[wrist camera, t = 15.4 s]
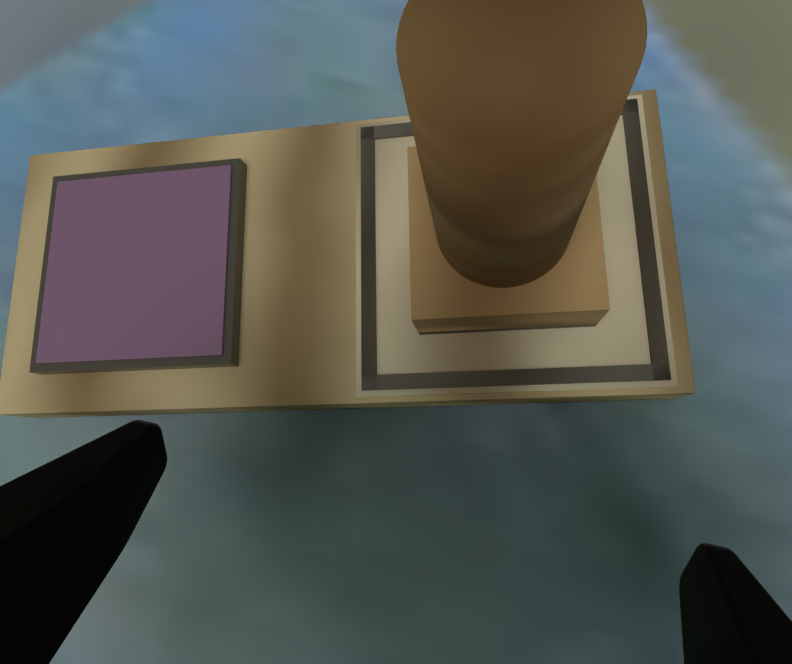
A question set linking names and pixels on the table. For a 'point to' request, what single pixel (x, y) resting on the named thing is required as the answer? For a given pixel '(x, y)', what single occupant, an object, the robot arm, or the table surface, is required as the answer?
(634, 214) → the board
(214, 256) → the ink pad
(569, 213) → the stamp
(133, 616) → the table surface
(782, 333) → the table surface
